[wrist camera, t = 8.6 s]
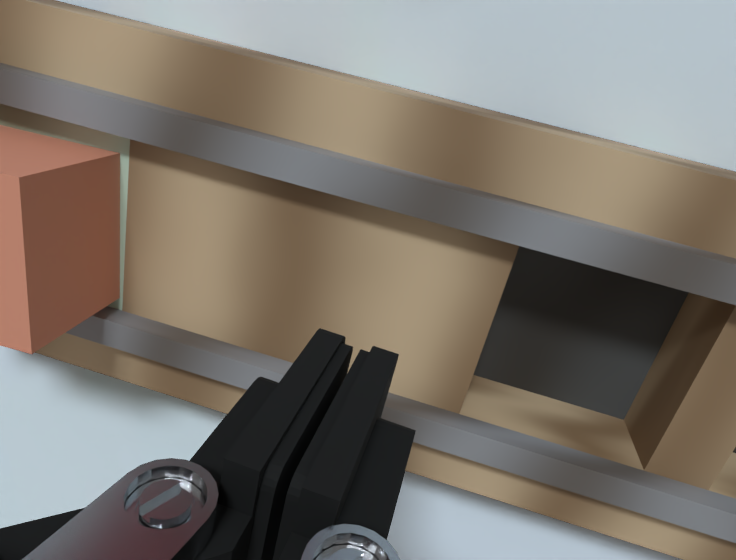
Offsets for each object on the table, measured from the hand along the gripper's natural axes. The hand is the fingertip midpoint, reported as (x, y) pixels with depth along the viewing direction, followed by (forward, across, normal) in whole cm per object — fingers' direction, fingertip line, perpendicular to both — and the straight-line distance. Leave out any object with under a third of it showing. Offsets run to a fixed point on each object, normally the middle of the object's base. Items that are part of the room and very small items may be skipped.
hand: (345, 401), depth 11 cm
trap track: (+9, -1, +1) cm, 9 cm away
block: (+6, +12, +1) cm, 13 cm away
